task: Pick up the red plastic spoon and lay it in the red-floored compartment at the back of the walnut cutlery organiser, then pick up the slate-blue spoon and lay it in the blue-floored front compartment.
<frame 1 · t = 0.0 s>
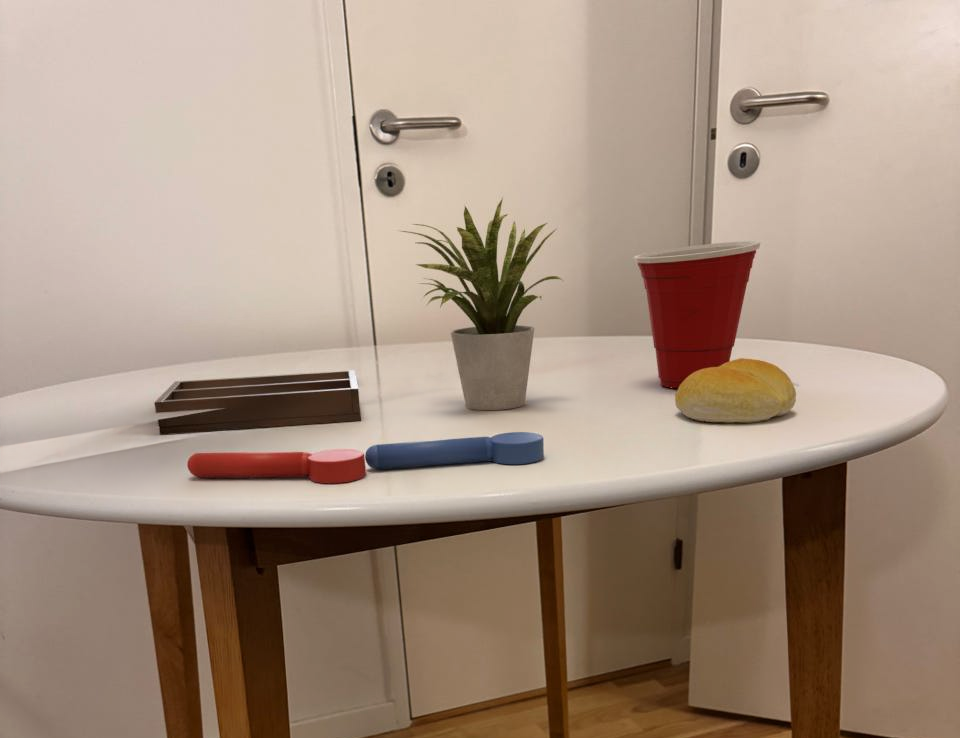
red spoon: (280, 476, 61), on the table
bread roll: (733, 416, 73), on the table
organiser: (265, 415, 81), on the table
plastic cup: (689, 387, 86), on the table
blue spoon: (459, 462, 62), on the table
house plant: (488, 404, 82), on the table
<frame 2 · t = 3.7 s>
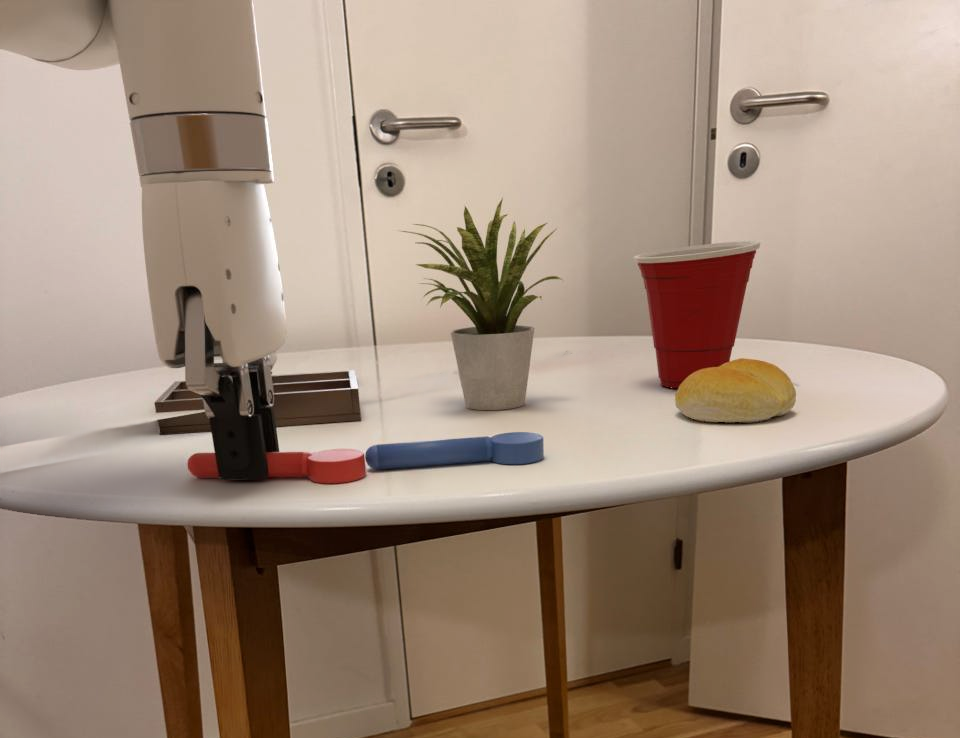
hand: (250, 471, 61), 0 cm above the table, tool pointing down, fingers closed on red spoon, 1 cm apart
red spoon: (280, 476, 61), on the table, touching gripper
everything else where it was.
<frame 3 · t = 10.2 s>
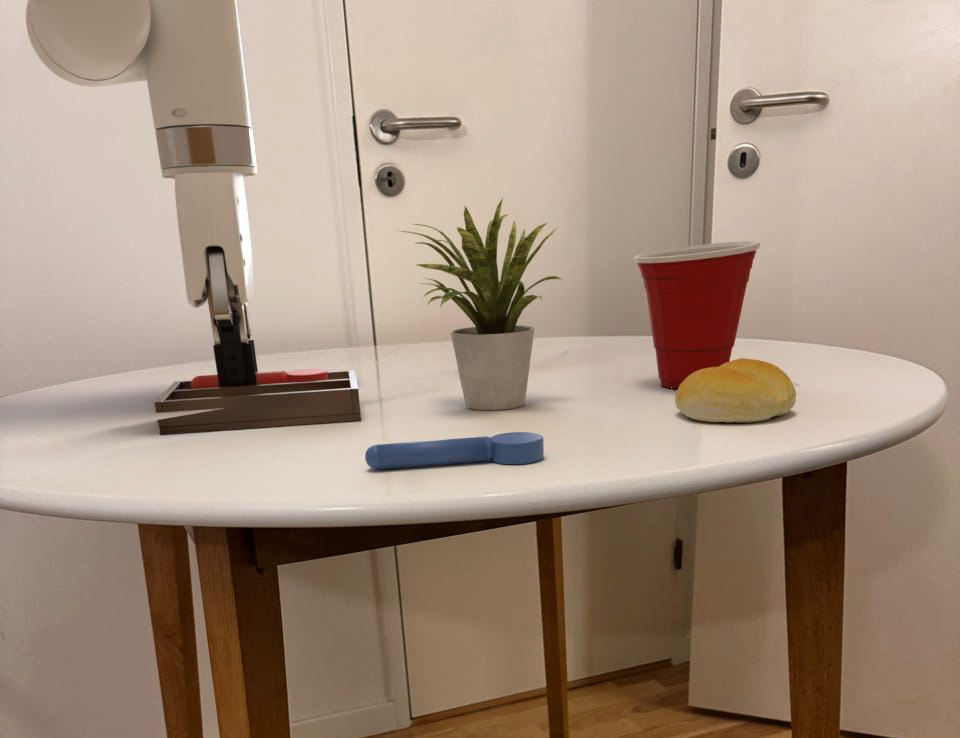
hand: (240, 388, 83), 2 cm above the table, tool pointing down, fingers closed on red spoon, 1 cm apart
red spoon: (264, 390, 83), point 2 cm above the table, touching gripper
everything else where it was.
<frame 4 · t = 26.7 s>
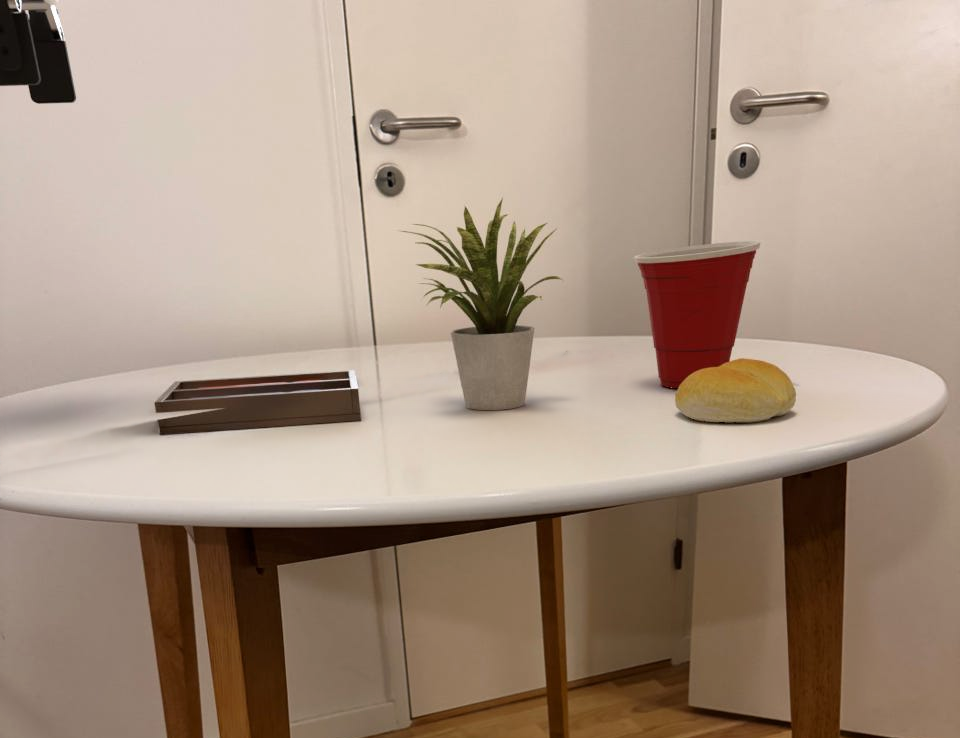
hand: (36, 94, 67), 24 cm above the table, tool pointing down, fingers open, 9 cm apart
red spoon: (265, 401, 83), point 1 cm above the table, touching organiser
blue spoon: (261, 413, 78), point 1 cm above the table, touching organiser
everything else where it was.
at the end: red spoon 0.4 cm from the target spot on the organiser, point 0.7 cm above the organiser's base; blue spoon 0.5 cm from the target spot on the organiser, point 0.7 cm above the organiser's base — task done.
